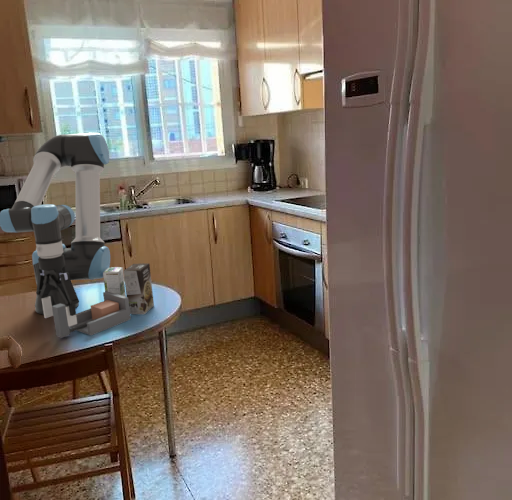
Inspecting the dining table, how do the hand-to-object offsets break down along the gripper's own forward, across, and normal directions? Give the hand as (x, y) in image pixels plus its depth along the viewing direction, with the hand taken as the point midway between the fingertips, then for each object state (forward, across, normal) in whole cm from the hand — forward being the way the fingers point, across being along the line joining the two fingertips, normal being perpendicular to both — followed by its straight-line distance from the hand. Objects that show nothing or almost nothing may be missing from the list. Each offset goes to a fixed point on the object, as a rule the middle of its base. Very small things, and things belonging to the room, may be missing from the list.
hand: (60, 320), depth 174 cm
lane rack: (+6, 0, +14) cm, 16 cm away
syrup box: (+6, -8, +27) cm, 29 cm away
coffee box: (+6, +2, +30) cm, 31 cm away
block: (+5, 0, +10) cm, 11 cm away
